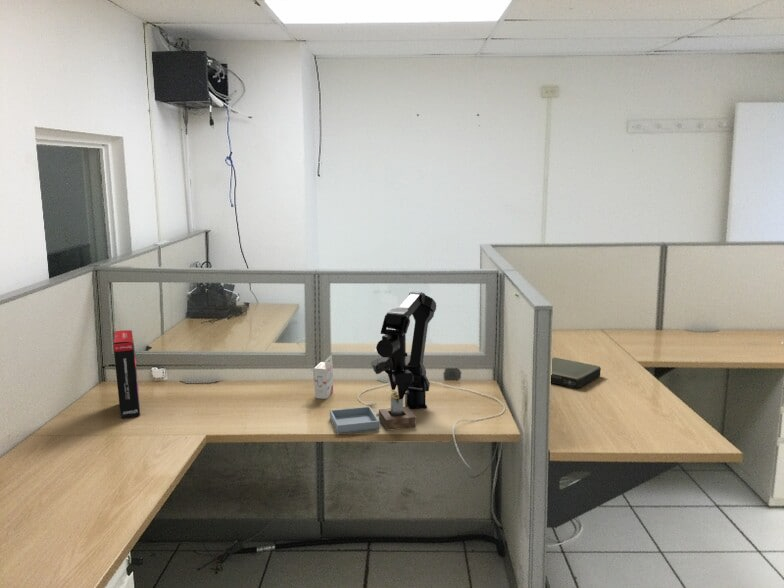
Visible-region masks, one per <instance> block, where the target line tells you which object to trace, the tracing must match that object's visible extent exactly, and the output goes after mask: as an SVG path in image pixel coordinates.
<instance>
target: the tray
mask: <svg viewBox="0 0 784 588" xmlns="http://www.w3.org/2000/svg"><path fill="white" fill-rule="evenodd" d="M329 420H330V422H331V423H332V425H333V428H334V430H335V432H336V434H337V435H342V434H354V433H363V432H370V431H379V430H380V429H381V428H380V427H381V426H380V425H381V424H380V423H381V422H380V420H379V417H378V416H377V415H376V413H375V412H374V410H373V409H372V408H371V406H360V407H350V408H340V409H338V408H337V409H330V410H329Z"/></svg>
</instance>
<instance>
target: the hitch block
mask: <svg viewBox="0 0 784 588" xmlns="http://www.w3.org/2000/svg"><path fill="white" fill-rule="evenodd" d="M378 419H379V421H380V423H381V425H382V426H383V428H384V429H385V430H386V431H392V430H391V429H394V430H398V429H399V430H402V429H403V430H404V429H411V428H416V427H417V425H416V423H417V421H416V419H417V417H416V415H414V413H413V412H412V411H411V409H409V407H408V406H403V416H394V417H391V407H390V408H389V407H388V408H379V409H378Z"/></svg>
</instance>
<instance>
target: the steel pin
mask: <svg viewBox="0 0 784 588" xmlns="http://www.w3.org/2000/svg"><path fill="white" fill-rule="evenodd" d="M403 407H404V398H403V399H399V395H398V392H392V393H391V394H390V408H391V417H394V416H403Z"/></svg>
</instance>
